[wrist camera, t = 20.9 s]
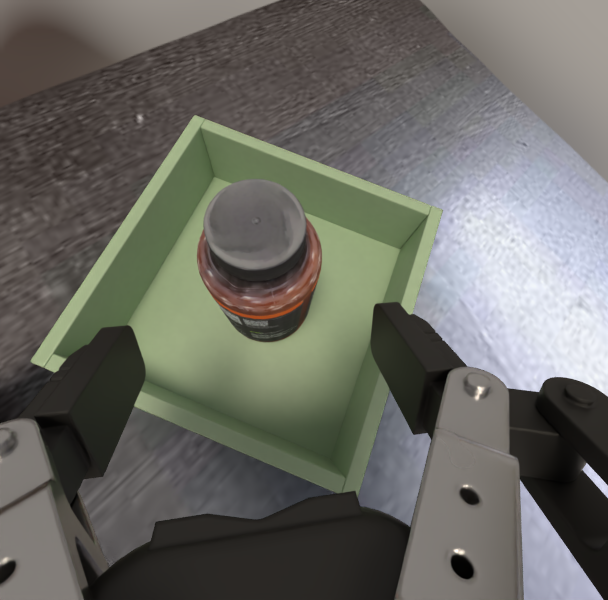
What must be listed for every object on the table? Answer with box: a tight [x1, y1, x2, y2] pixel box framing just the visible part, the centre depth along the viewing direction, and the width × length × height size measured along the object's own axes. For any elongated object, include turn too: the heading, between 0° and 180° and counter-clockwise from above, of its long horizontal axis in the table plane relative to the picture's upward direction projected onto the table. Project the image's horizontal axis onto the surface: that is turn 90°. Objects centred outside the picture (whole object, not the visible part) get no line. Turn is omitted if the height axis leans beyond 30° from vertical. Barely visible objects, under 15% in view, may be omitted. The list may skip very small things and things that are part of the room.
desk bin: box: [31, 115, 443, 498], centre depth 21 cm, size 18×18×6 cm
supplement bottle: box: [197, 179, 322, 342], centre depth 17 cm, size 6×6×11 cm
